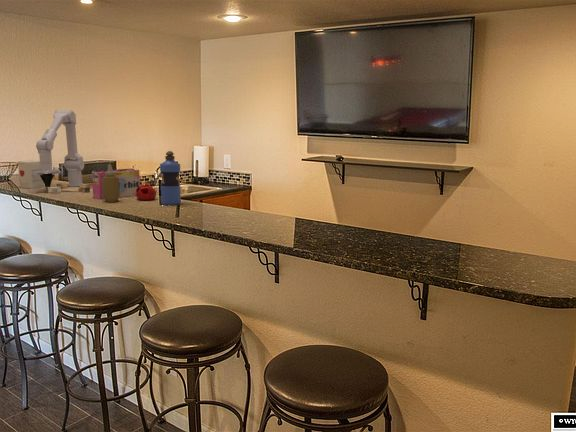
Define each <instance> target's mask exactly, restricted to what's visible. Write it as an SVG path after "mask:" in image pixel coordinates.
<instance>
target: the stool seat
mask: <svg viewBox="0 0 576 432" xmlns="http://www.w3.org/2000/svg"><path fill="white" fill-rule="evenodd" d="M68 184H69V183H68ZM68 184H66V183H62V182H60V183H56V187H58V186H61V192H65V193H70V192H71V193H72V192H73V193H75V192H80V193H85V194H86V193H87V194H88V193H90V192H91V189H93V184H92V182H89V183H84V184H82V186H70V187H69V186H68Z"/></svg>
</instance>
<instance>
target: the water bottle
mask: <svg viewBox="0 0 576 432" xmlns="http://www.w3.org/2000/svg"><path fill="white" fill-rule="evenodd" d="M174 154H175V153H174V152H173V151H172V150H168V151H167V152H166V153H165V156H164V158H165V161H163V162H161V163H159V171H160V178H161V182H160V183H161V184H160V200H161V201H160V202H161V203H160V204H161V205H162V206H179V205H181V201H182V200H181V199H182V198H181V182H180V174H181V173H180V172H181V164H180V163H179V162H177V161H176V160H175V155H174Z"/></svg>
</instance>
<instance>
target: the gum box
mask: <svg viewBox="0 0 576 432" xmlns="http://www.w3.org/2000/svg"><path fill="white" fill-rule="evenodd" d="M107 170H108V169H106V170H103V169H102V170H91V181H92V182H91V183H92V184H93V188H92V198H94V199H97V200H104V197H103V195H102V191H103V177H104V176H106V175H105V172H107ZM113 172H115V175H114V176H117V177H118V184H119V190H120V196H119V198H124V197H134V196H135V197H136V189H137V188H138V187H139V186H141V178H140V177H141V176H140V169H135V168H121V169H120V168H119V169H113Z"/></svg>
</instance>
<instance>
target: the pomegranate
mask: <svg viewBox="0 0 576 432" xmlns="http://www.w3.org/2000/svg"><path fill="white" fill-rule="evenodd" d="M151 185H152V186H151ZM153 185H154V184H148V181H145V182H144V184H143V183H141V185H140V186H139V187H138V188H137V189H136V195H135V197H136V198H137V200H138V201H153V200H155V199H156V197H157V191H156V189H155V188H154V187H153Z"/></svg>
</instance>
